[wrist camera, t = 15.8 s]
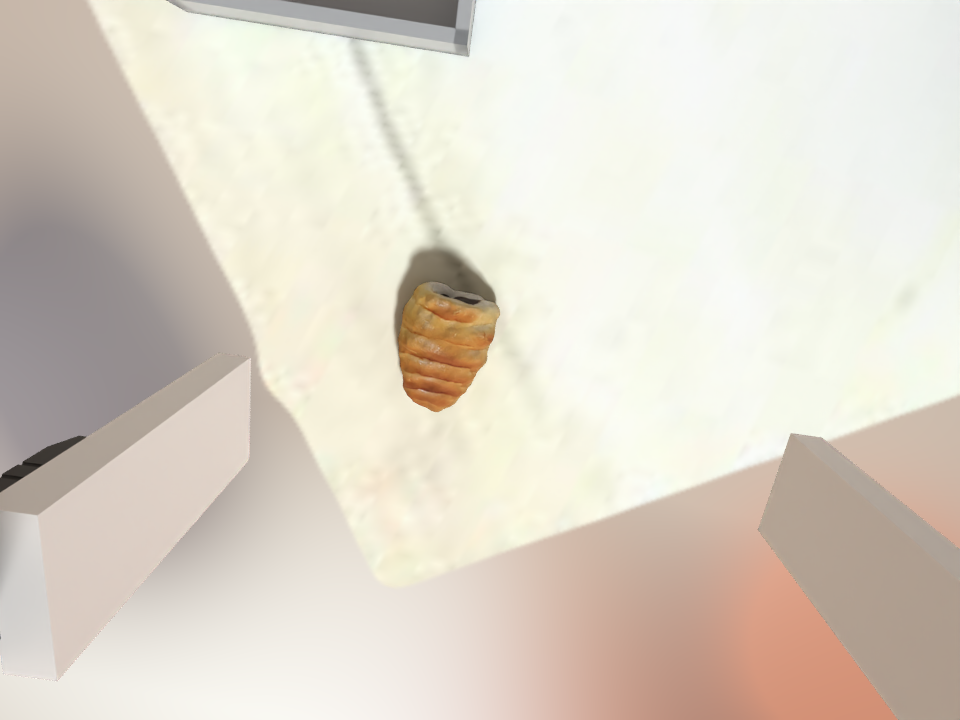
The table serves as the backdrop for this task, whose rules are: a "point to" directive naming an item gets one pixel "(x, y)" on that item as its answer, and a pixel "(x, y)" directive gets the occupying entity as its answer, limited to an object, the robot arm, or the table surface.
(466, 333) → the pastry
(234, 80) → the table surface
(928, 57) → the table surface
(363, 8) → the tray
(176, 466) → the robot arm
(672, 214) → the table surface
